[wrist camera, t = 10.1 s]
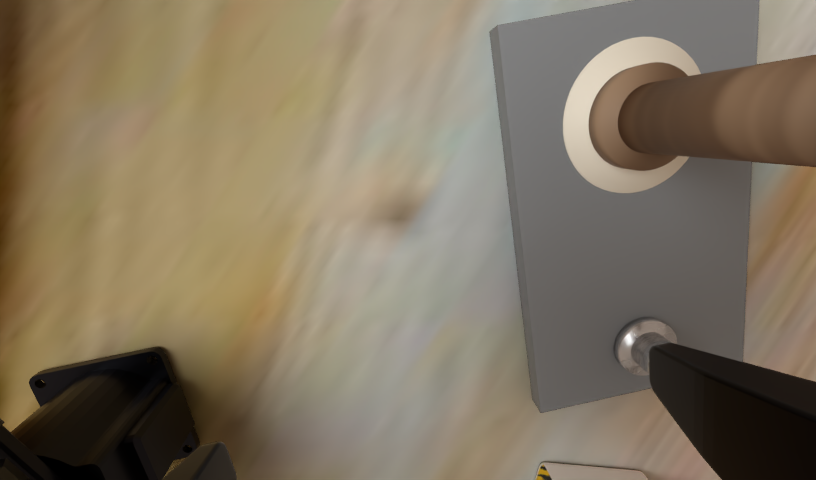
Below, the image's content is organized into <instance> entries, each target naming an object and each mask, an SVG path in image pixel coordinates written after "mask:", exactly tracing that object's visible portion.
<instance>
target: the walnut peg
mask: <svg viewBox="0 0 816 480" xmlns="http://www.w3.org/2000/svg"><path fill="white" fill-rule="evenodd" d="M589 135H590V139H591V142H592V145H593V147H594V149H595V150H596V152H597V153H598V155H599V156H600V157H601V158H602V159H603V160H604V161H606V162H607V163H609V164H611V165H613V166H615V167H618V168H624V169H630V170H637V171H647V170H653V169H657V168H659V167H662V166H664V165H666V164H668V163H670V162H671V161H672V160H674V159H675V158H676V157H677V156H687V157H699V158H711V159H724V160H736V161H748V162H760V163H772V164H785V165H797V166H809V167H816V55H811V56H806V57H800V58H794V59H788V60H782V61H776V62H770V63H764V64H758V65H752V66H746V67H740V68H734V69H728V70H722V71H716V72H710V73H704V74H698V75H692V76H688V75H687V74H686V73H685V72H684V71H682V70H681V69H680V68H678V67H676V66H674V65H671V64H668V63H663V62H653V63H647V64H643V65H638V66H634V67H630V68H627V69H625V70H622V71H620V72H619V73H617V74H615V75H614V76H613V77H611V78H610V79H609V80H608V81H607V82H606V83H605V84H604V85H603V86H602V88H601V89H600V90H599V92H598V94H597V95H596V97H595V99H594V101H593V104H592V107H591V110H590V114H589Z"/></svg>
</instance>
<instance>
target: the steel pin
mask: <svg viewBox="0 0 816 480" xmlns="http://www.w3.org/2000/svg"><path fill="white" fill-rule="evenodd" d="M664 343H675V344H677V338H676V335H675V333H674V331H673V330H672V328H671V327H669V326H668V325H666V324H665V323H663V322H662V321H660V320H659V319H656V318H653V317H640V318H637V319H634V320H632V321H630V322H629V323H627V324H626V325H625V326H624V327H623V328H622V329H621V330H620V331H619V333H618V334H617V336H616V338H615V341H614V346H613V350H614V355H615V358H616V360H617V361H618V362H619V363H620V364H621V365H622V366H623V367H624V368H625V369H626V370H627V371H629V372H630V373H632V374H635V375H640V376H645V375H649V350H650V348H651V347H652V346H655V345H659V344H664Z"/></svg>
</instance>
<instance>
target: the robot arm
mask: <svg viewBox="0 0 816 480" xmlns="http://www.w3.org/2000/svg"><path fill="white" fill-rule="evenodd" d="M151 356H154V357H156V358H157V361H155V360H153V359H152V358H151ZM41 380H43V381H45V383H46V384H45V383H43V382H42V381H41ZM649 380H650V384H651V387H652V389H653V391H654V392H655V394H656V395H657V397H658V398H659V399H660V401H661V402H662V403H663V405H664V406H665V408H666V409H667V410H668V412H669V413H670V414H671V416H672V417H673V418H674V420H675V421H676V422H677V424H678V425H679V427H680V428H681V429H682V431H683V432H684V433H685V435H686V436H687V437H688V439H689V440H690V441H691V443H692V444H693V446H694V447H695V448H696V449H697V451H698V452H699V453H700V455H701V456H702V457H703V458H704V459H705V461H706V462H707V463H708V464H709V465H710V466H711V468H712V469H713V470H714V471H715V472H716V473H717V475H718V476H719V477H720V478H721V479H722V480H816V382H814V381H810V380H807V379H803V378H799V377H796V376H792V375H788V374H785V373H781V372H777V371H774V370H770V369H766V368H763V367H759V366H755V365H752V364H748V363H744V362H741V361H737V360H734V359H730V358H726V357H723V356H719V355H715V354H712V353H708V352H704V351H701V350H697V349H693V348H690V347H686V346H682V345H679V344H675V343H664V344H659V345H655V346H652V347H651V348H650V350H649ZM29 384H30V387H31V389H32V391H33V393H34V395H35V397H36V399H37V401H38V403H39V405H40V408H39V409H38V410H36V411H35V412H34V413H33V414H32V415H31V416H29V417H28V418H27V419H26V420H25V421H23V422H22V423H21V424H20V425H19V426H18V427H16V428H15V429H14V430H13V431H12V432H9V431H8V430H7V429H6V428H5V427H4V426H3V425H2V424H3V423H4V421H2V420H1V419H0V480H237V477H236V472H235V469H234V467H233V464H232V461H231V458H230V456H229V453H228V450H227V447H226V446H225V444H224V443H223V442H221V441H218V442H213V443H209V444H204V445H201V446H200V441H199V438H198V436H197V433H196V431H195V428H194V420H193V418H192V415H191V412H190V410H189V407H188V405H187V402H186V400H185V397H184V394H183V392H182V389H181V387H180V385H179V384H178V383H177V382H176V379H175V377H174V374H173V372H172V369H171V366H170V364H169V361H168V359H167V356H166V354H165V352H164V351H163V350H162V349H160V348H157V347H155V348H148V349H143V350H139V351H134V352H129V353H124V354H119V355H115V356H110V357H105V358H100V359H96V360H91V361H86V362H81V363H76V364H72V365H67V366H62V367H57V368H53V369H48V370H43V371H40V372H38V373H37V374H35V375H34V376H33V377H32V378H31V379H30V381H29ZM187 445H190V446H191V447H188V446H187ZM199 446H200V447H199ZM186 457H187V458H186ZM181 458H186V459H185V460H184V461H182V462H181V463H180V464H179V465H178V466H177V467H176V468H174V469H173V470H172V471H171V472H170V473H169V474H168V475H166V476H165V474H166V472H167V471H168V469H169V467H170V466H171V464H172V462H173V460H177V459H181ZM164 476H165V477H164Z"/></svg>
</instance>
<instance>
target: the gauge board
mask: <svg viewBox="0 0 816 480" xmlns="http://www.w3.org/2000/svg"><path fill="white" fill-rule="evenodd" d="M758 21H759V0H634V1H628V2H623V3H617V4H612V5H606V6H601V7H595V8H590V9H584V10H579V11H573V12H568V13H562V14H557V15H551V16H546V17H540V18H534V19H529V20H523V21H518V22H512V23H507V24H501V25H497V26H496V27H495V28H493V29H492V30H491V31H490V40H491V48H492V57H493V65H494V74H495V82H496V91H497V100H498V108H499V117H500V125H501V134H502V143H503V151H504V160H505V168H506V177H507V185H508V194H509V203H510V211H511V220H512V228H513V237H514V246H515V254H516V263H517V271H518V280H519V288H520V297H521V306H522V314H523V323H524V331H525V340H526V349H527V357H528V366H529V374H530V383H531V391H532V400H533V401H534V403H535V405H536V406H537V408H538V409H539V411H540V413H543V412H548V411H552V410H557V409H561V408H565V407H570V406H574V405H579V404H583V403H588V402H592V401H596V400H601V399H605V398H610V397H614V396H618V395H623V394H627V393H632V392H636V391H641V390H645V389H649V388H652V387H651V384H650V380H649V375H645V376H640V375H635V374H632V373H630V372H629V371H627V370H626V369H625V368H624V367H623V366H622V365H621V364H620V363H619V362H618V361H617V360H616V358H615V355H614V350H613V346H614V341H615V338H616V336H617V334H618V333H619V331H620V330H621V329H622V328H623V327H624V326H625V325H626V324H627V323H629V322H630V321H632V320H634V319H637V318H640V317H653V318H656V319H659V320H660V321H662V322H663V323H665V324H666V325H668V326H669V327H671V328H672V330H673V331H674V333H675V335H676V338H677V344H679V345H682V346H686V347H690V348H693V349H697V350H701V351H704V352H708V353H712V354H715V355H719V356H723V357H726V358H730V359H734V360H737V361H741V362H743V345H744V324H745V302H746V280H747V259H748V237H749V216H750V194H751V172H752V162H748V161H736V160H724V159H711V158H699V157H687V156H677V157H676V158H675V159H674V160H672V161H671V162H670V163H668V164H666V165H664V166H662V167H659V168H657V169H653V170H647V171H637V170H630V169H624V168H618V167H615V166H613V165H611V164H609V163H607V162H606V161H604V160H603V159H602V158H601V157H600V156H599V155H598V153H597V152H596V150H595V149H594V147H593V145H592V142H591V139H590V135H589V114H590V110H591V107H592V104H593V101H594V99H595V97H596V95H597V94H598V92H599V90H600V89H601V88H602V86H603V85H604V84H605V83H606V82H607V81H608V80H609V79H610V78H611V77H613V76H614V75H615V74H617V73H619V72H620V71H622V70H625V69H627V68H630V67H634V66H638V65H643V64H647V63H653V62H663V63H668V64H671V65H674V66H676V67H678V68H680V69H681V70H682V71H684V72H685V73H686V74H687V75H688V76H692V75H698V74H704V73H710V72H716V71H722V70H728V69H734V68H740V67H746V66H752V65H756V64H757V42H758Z"/></svg>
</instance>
